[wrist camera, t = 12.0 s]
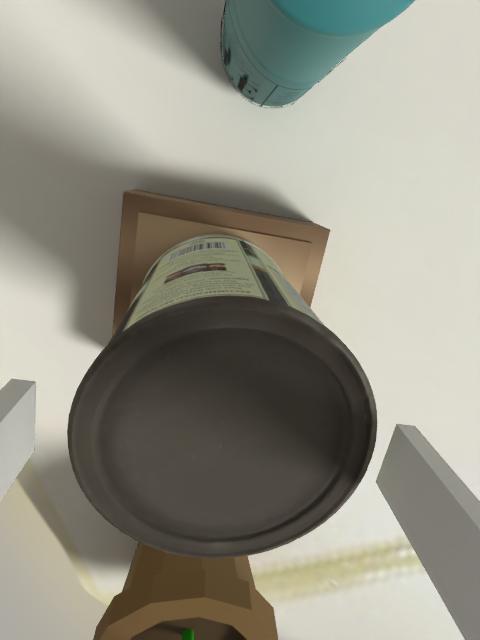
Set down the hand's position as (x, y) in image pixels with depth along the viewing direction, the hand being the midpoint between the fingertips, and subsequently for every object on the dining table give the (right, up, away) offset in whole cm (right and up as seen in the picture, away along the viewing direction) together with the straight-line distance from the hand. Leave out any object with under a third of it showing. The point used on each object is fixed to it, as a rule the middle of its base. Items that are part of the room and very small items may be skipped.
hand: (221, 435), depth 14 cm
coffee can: (-1, +5, +12) cm, 13 cm away
